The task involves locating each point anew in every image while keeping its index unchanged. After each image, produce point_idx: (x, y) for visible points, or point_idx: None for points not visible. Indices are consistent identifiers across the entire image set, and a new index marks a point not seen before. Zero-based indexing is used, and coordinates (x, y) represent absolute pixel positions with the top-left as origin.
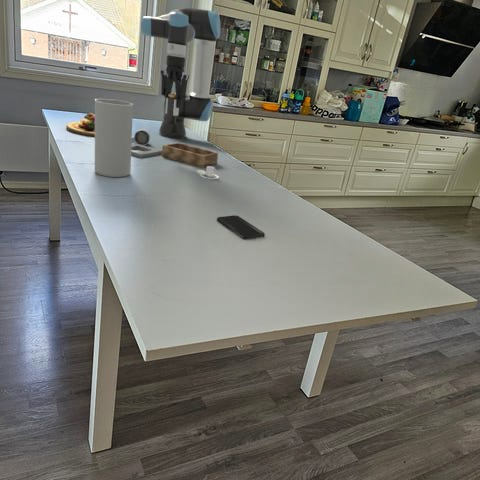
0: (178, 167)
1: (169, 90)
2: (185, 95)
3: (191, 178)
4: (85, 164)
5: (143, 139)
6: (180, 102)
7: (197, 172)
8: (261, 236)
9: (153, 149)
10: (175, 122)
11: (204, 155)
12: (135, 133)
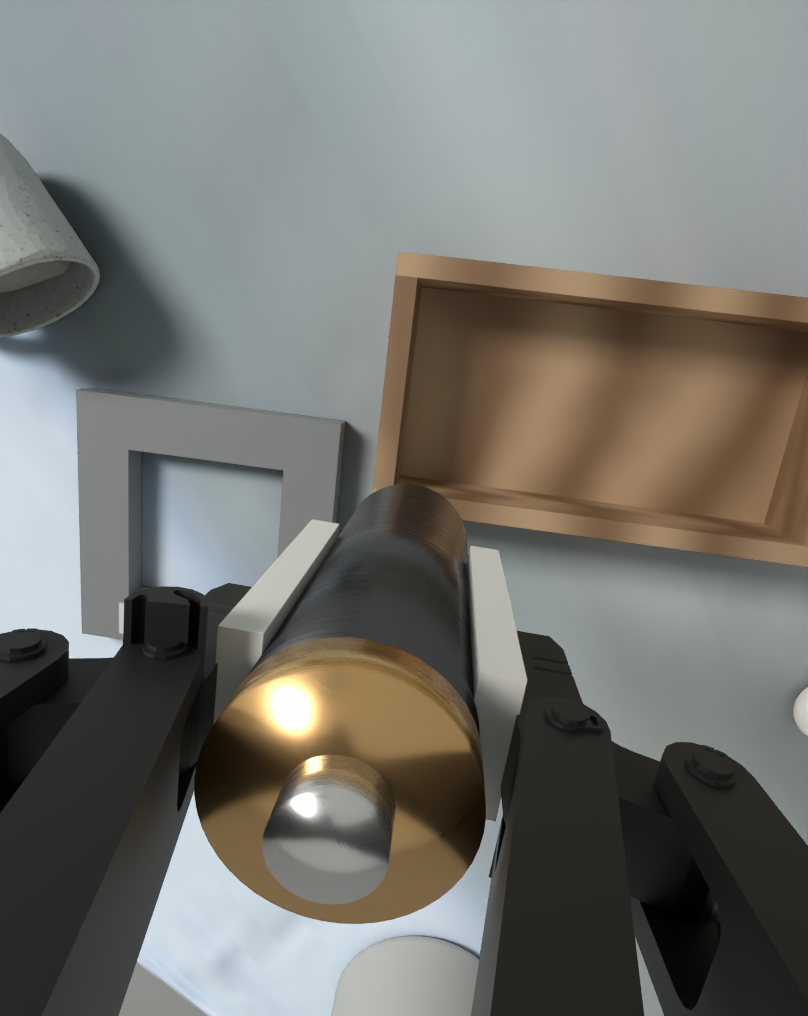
0: (623, 668)
1: (149, 867)
2: (795, 834)
3: (792, 823)
4: (242, 965)
5: (39, 274)
6: (577, 701)
7: (798, 727)
8: None
9: (274, 450)
10: (466, 536)
11: None
12: None
